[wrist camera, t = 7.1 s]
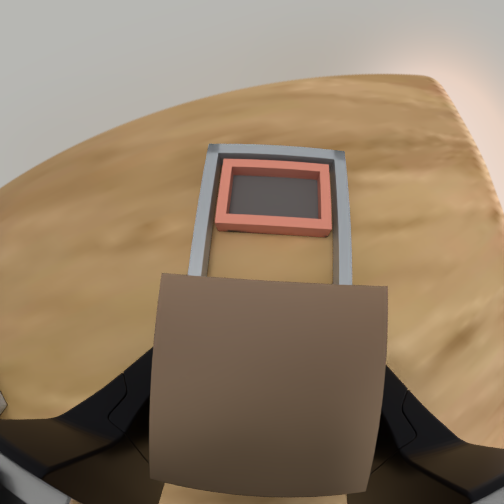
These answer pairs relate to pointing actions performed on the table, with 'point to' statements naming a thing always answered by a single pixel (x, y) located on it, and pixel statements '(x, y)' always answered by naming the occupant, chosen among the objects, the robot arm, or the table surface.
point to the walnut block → (266, 385)
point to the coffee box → (2, 403)
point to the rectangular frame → (274, 198)
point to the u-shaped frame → (278, 153)
